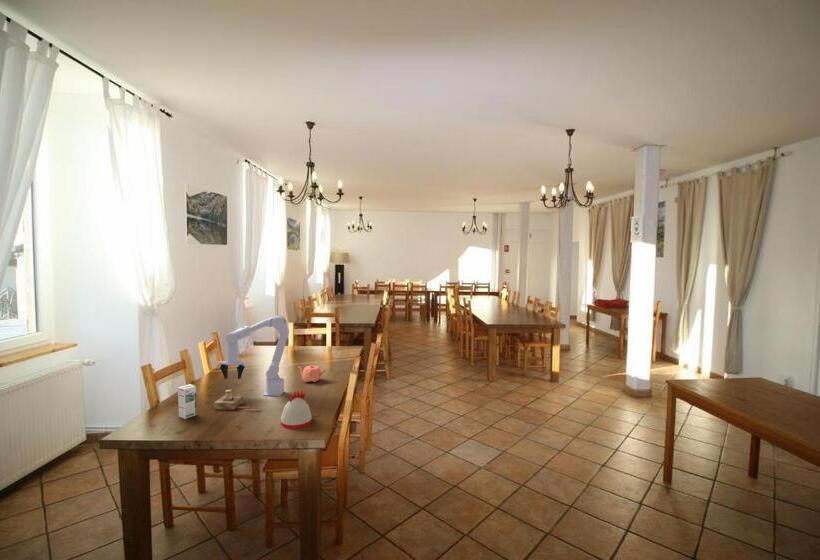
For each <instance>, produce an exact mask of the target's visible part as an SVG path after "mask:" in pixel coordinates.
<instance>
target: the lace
mask: <svg viewBox="0 0 820 560" xmlns="http://www.w3.org/2000/svg"><path fill="white" fill-rule="evenodd" d="M235 409H244V410H245V411H246V412H262V411H263V410H262V409H252V407H251V406H238V407H236V408H235Z"/></svg>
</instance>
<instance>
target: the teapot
mask: <svg viewBox="0 0 820 560" xmlns="http://www.w3.org/2000/svg"><path fill="white" fill-rule="evenodd" d="M297 368H298V369H299V373H300V375H301V376H302V377H301V378H302V381H303V382H308V383H309V382H312V383H313V382H316V383H317V382H319V380H320V378H321V376H322V375H324V374H325V373H326V372H327V370H326V368H324V369H321V367H320V366H319V365H314V364H310V365H306V366H305V367H304V368H303V369H302V367H301V366H299V365H298V366H297Z"/></svg>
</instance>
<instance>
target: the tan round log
mask: <svg viewBox="0 0 820 560" xmlns="http://www.w3.org/2000/svg"><path fill="white" fill-rule="evenodd" d="M225 396H226V401H231V400H232V396H233V389H227V390H225Z"/></svg>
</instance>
